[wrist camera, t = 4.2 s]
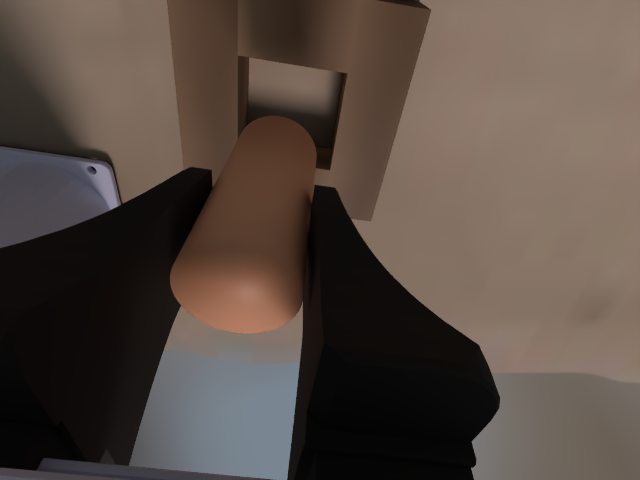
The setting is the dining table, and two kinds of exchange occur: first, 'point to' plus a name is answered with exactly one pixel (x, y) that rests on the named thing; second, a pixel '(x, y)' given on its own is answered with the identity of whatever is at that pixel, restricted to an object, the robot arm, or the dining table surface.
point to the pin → (252, 233)
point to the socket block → (304, 50)
